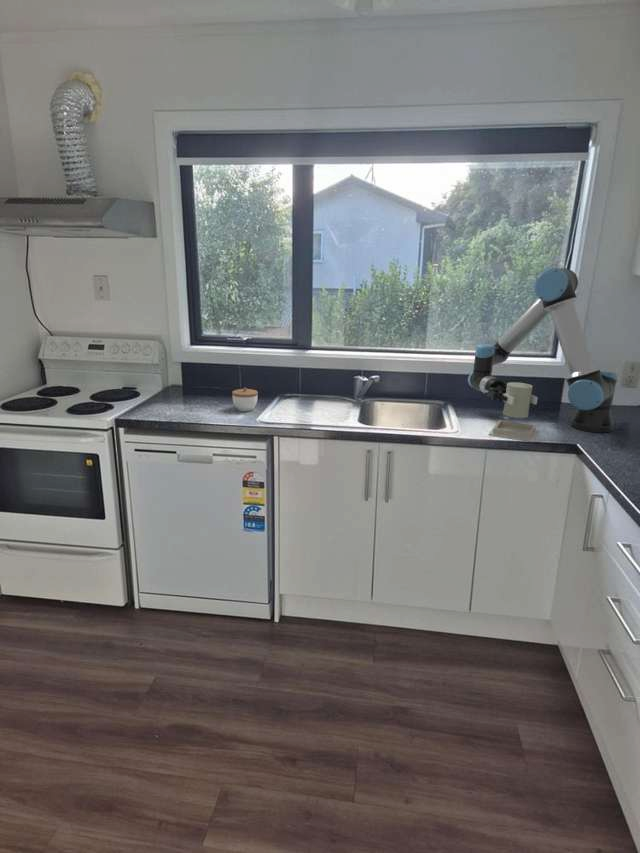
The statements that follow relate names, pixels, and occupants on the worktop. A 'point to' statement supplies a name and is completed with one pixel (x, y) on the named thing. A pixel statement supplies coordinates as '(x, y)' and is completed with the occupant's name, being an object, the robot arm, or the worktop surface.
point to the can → (518, 400)
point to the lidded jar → (244, 399)
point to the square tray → (514, 430)
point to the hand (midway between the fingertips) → (524, 401)
